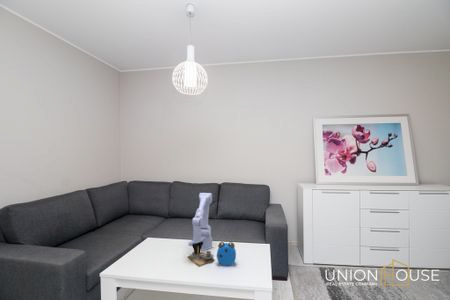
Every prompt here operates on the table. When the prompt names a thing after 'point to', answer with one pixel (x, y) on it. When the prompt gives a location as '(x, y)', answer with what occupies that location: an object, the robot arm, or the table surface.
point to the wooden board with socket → (201, 258)
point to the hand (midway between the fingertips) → (197, 252)
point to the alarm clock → (226, 253)
